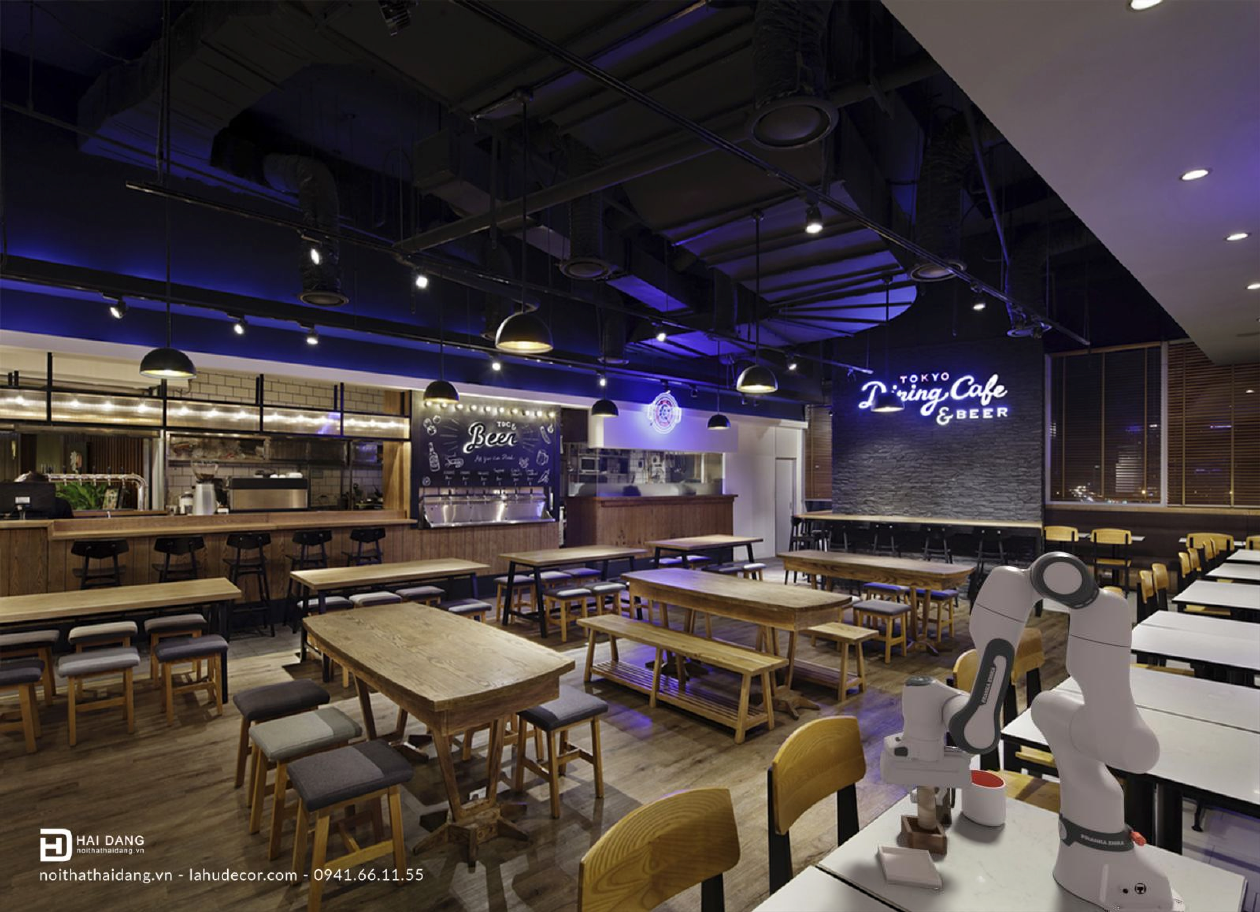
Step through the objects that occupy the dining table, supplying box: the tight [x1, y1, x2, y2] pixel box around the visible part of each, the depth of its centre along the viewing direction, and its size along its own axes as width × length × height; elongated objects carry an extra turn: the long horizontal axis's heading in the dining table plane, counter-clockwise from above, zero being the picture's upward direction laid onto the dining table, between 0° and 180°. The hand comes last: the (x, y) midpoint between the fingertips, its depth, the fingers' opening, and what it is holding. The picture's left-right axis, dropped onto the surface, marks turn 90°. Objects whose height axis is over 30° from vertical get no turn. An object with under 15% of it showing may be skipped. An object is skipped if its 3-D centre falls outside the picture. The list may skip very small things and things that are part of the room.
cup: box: [960, 769, 1007, 827], centre depth 161 cm, size 10×10×10 cm
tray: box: [877, 844, 942, 890], centre depth 140 cm, size 11×11×2 cm
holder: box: [900, 814, 948, 856], centre depth 150 cm, size 8×8×4 cm
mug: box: [935, 787, 957, 828], centre depth 158 cm, size 8×6×12 cm
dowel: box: [915, 786, 936, 830], centre depth 150 cm, size 4×4×10 cm
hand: (926, 803), depth 150 cm, fingers closed on dowel, 4 cm apart
